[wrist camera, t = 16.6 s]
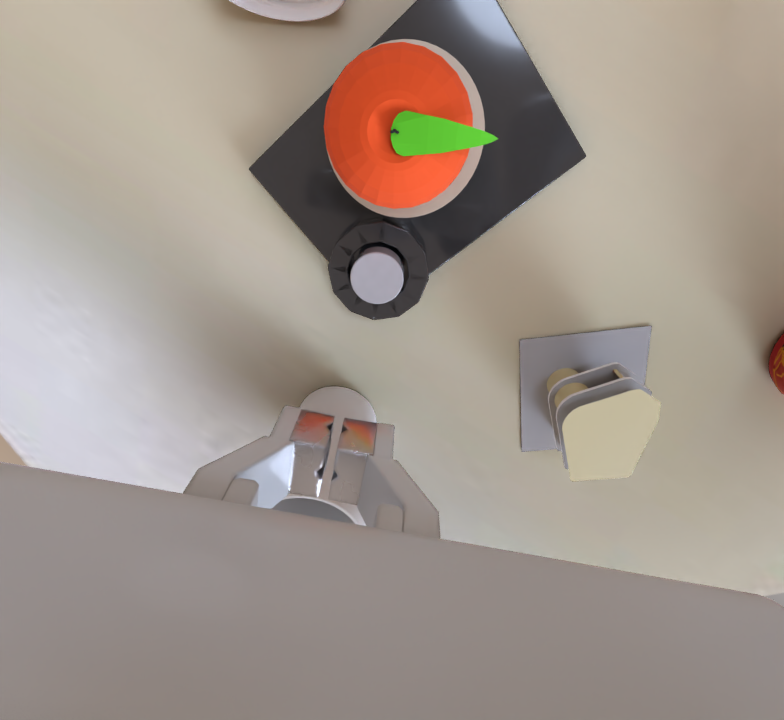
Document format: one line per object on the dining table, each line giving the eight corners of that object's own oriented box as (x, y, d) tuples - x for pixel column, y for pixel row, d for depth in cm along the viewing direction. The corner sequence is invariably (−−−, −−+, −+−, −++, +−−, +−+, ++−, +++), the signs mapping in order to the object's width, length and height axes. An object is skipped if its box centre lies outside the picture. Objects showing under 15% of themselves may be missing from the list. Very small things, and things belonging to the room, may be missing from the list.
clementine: (495, 58, 23) (526, 32, 17) (476, 203, 26) (496, 228, 20) (335, 49, 23) (305, 19, 17) (336, 194, 26) (311, 216, 20)
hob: (466, -47, 23) (472, -65, 21) (587, 163, 27) (603, 167, 25) (245, 174, 28) (231, 178, 26) (375, 322, 33) (372, 336, 30)
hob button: (382, 235, 28) (380, 241, 26) (414, 275, 29) (414, 283, 27) (342, 267, 29) (338, 274, 27) (375, 305, 30) (373, 314, 28)
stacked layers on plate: (637, 441, 36) (671, 491, 31) (521, 451, 37) (537, 500, 32) (651, 325, 32) (694, 361, 27) (519, 339, 33) (537, 377, 28)
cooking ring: (418, -5, 22) (418, -6, 22) (515, 148, 25) (516, 148, 25) (292, 122, 25) (291, 122, 25) (392, 247, 28) (392, 248, 27)
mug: (285, 388, 35) (229, 501, 25) (370, 376, 35) (350, 488, 24) (318, 487, 40) (282, 619, 29) (394, 478, 39) (386, 611, 28)
